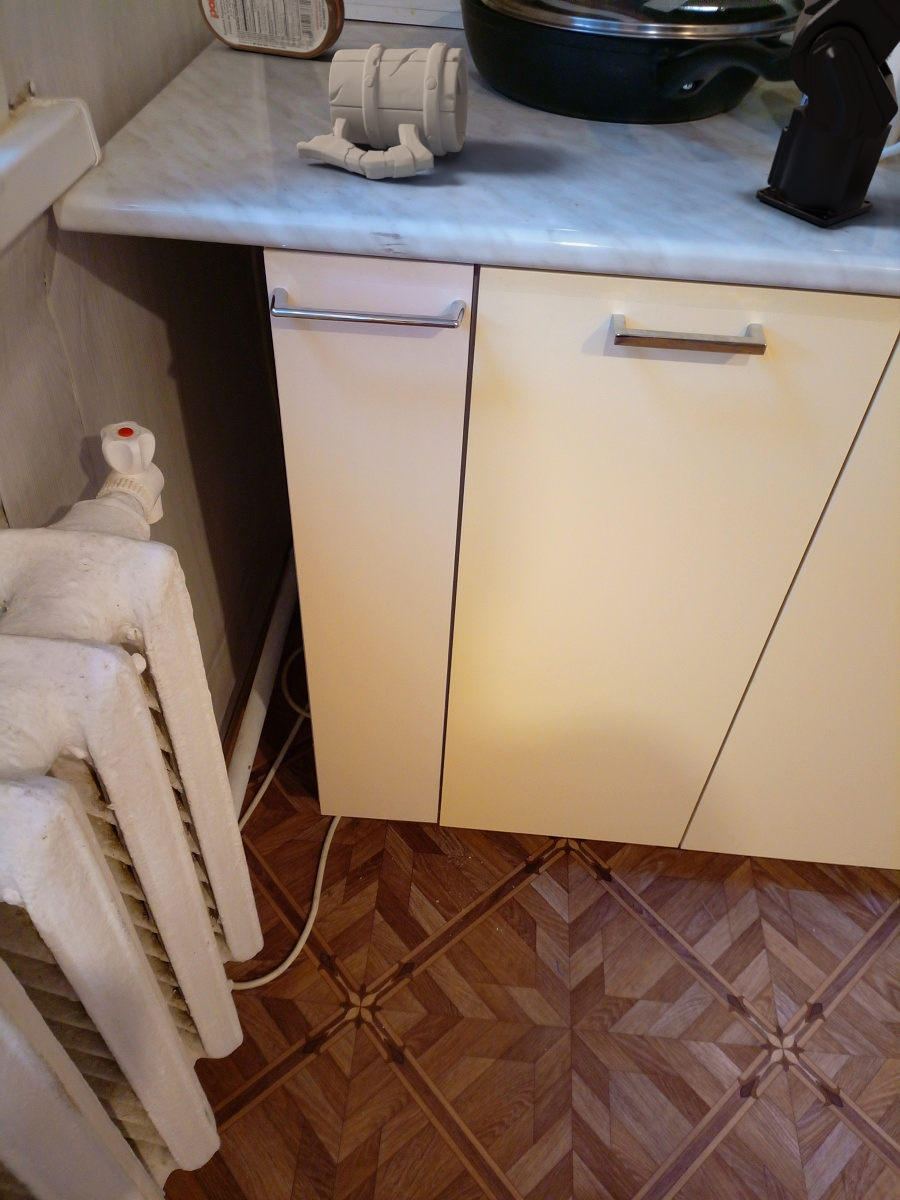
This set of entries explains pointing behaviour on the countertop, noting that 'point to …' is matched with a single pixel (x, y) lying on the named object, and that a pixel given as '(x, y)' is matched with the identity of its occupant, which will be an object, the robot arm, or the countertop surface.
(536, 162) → the countertop surface
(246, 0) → the tin
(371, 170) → the mug
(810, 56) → the robot arm
